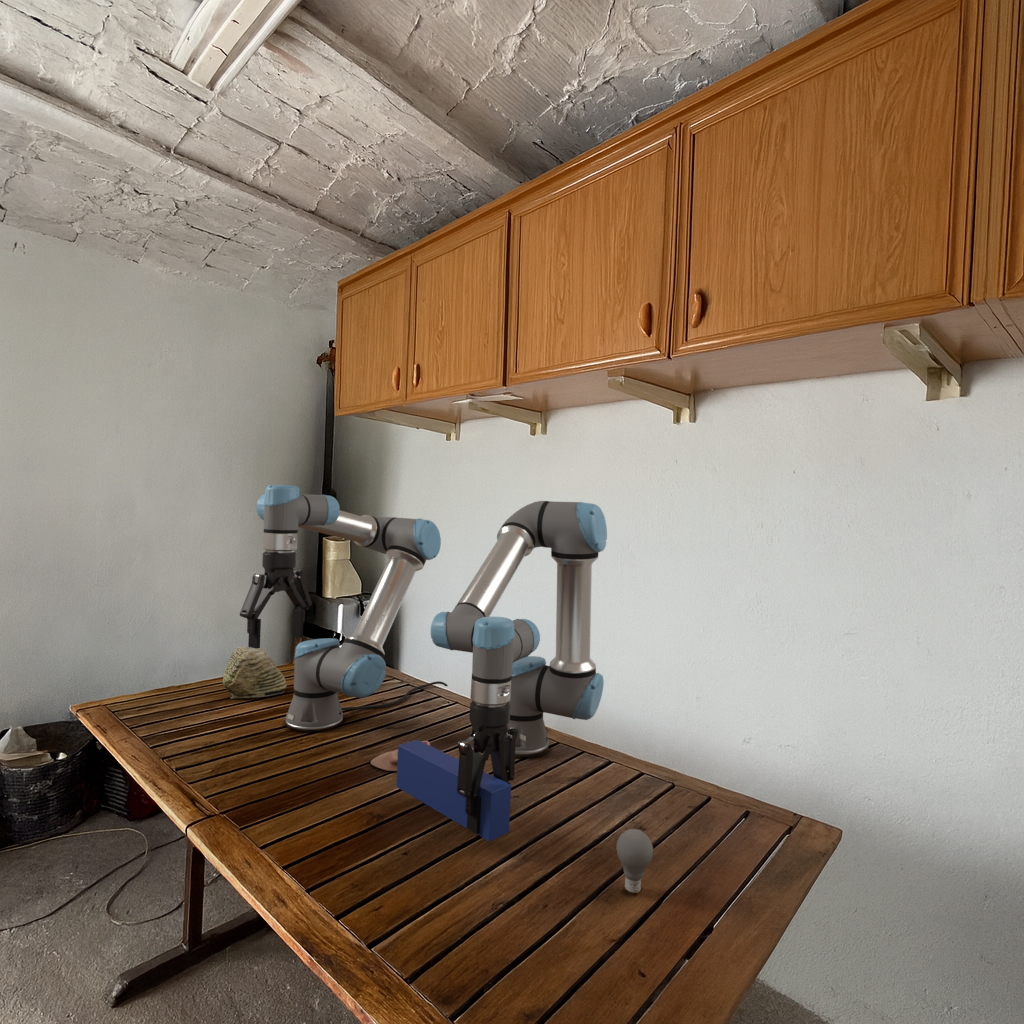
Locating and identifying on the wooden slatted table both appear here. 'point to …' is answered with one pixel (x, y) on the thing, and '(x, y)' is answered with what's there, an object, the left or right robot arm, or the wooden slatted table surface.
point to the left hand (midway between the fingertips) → (276, 642)
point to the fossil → (252, 674)
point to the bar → (451, 788)
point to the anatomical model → (388, 760)
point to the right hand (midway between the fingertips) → (484, 825)
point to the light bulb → (634, 857)
